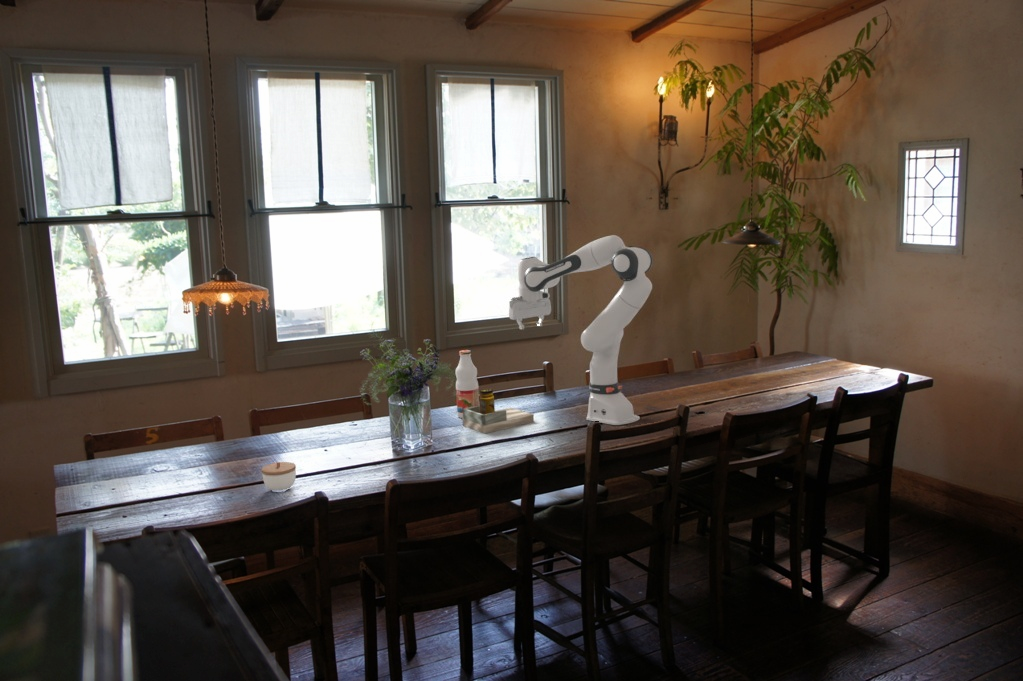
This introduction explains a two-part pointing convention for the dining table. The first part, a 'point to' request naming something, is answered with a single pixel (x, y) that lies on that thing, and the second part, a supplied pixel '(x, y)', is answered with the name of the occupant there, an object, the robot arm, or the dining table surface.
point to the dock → (494, 419)
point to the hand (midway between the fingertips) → (530, 327)
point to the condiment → (486, 401)
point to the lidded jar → (279, 475)
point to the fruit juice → (466, 383)
